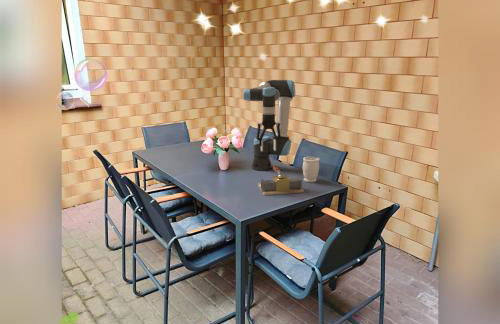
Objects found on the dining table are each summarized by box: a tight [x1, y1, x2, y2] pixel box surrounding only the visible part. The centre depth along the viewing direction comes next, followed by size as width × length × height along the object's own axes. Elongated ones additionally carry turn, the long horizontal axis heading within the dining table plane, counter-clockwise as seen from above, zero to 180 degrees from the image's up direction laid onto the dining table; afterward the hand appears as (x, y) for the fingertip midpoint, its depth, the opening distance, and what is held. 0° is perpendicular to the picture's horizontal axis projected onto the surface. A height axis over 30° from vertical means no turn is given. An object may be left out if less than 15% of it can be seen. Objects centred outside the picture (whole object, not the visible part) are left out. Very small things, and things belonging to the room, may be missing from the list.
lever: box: [272, 165, 285, 178], centre depth 219 cm, size 18×4×2 cm, turn 10°
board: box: [257, 182, 305, 196], centre depth 219 cm, size 18×25×1 cm
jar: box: [302, 156, 320, 183], centre depth 231 cm, size 11×10×15 cm
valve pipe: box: [260, 174, 303, 192], centre depth 214 cm, size 8×24×8 cm, turn 100°
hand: (268, 150), depth 217 cm, fingers open, 8 cm apart
